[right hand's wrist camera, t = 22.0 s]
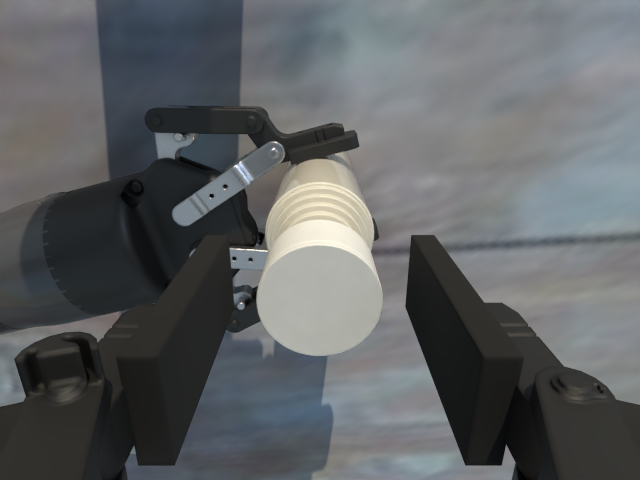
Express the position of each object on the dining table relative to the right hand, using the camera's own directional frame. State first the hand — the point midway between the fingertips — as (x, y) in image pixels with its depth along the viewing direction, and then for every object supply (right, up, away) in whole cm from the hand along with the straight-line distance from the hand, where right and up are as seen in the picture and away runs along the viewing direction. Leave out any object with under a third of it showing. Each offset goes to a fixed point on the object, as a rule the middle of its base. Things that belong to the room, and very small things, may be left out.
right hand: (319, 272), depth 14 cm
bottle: (0, +6, +16) cm, 17 cm away
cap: (0, -1, -2) cm, 2 cm away
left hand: (+3, +4, +9) cm, 10 cm away
